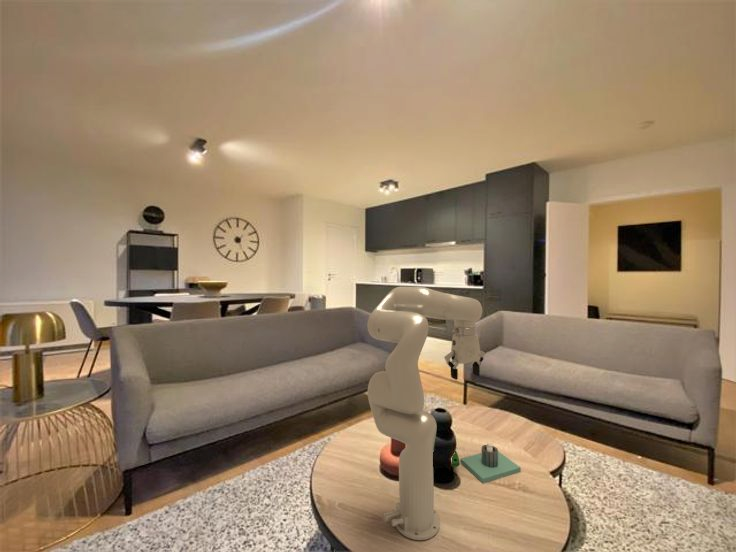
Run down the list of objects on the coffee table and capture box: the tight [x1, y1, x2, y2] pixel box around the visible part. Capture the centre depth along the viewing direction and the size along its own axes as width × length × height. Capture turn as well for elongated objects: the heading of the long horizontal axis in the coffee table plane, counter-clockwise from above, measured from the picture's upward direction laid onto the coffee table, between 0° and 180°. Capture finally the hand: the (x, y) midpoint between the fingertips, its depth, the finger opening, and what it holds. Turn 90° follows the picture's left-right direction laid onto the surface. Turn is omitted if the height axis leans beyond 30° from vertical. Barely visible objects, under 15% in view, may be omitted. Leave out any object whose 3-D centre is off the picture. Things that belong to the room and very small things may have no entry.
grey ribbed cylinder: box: [481, 444, 499, 468], centre depth 112 cm, size 5×5×5 cm
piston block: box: [459, 442, 522, 484], centre depth 112 cm, size 16×12×8 cm
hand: (465, 376), depth 118 cm, fingers open, 9 cm apart
